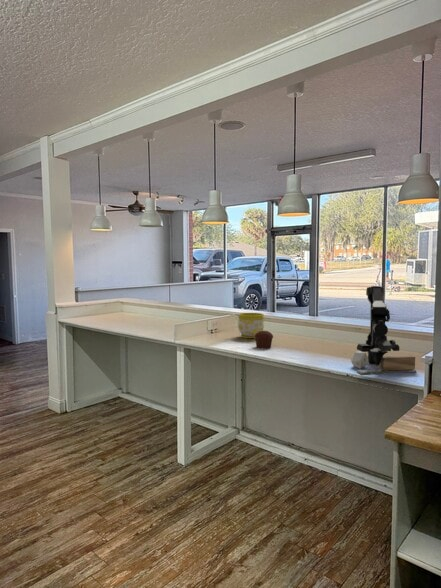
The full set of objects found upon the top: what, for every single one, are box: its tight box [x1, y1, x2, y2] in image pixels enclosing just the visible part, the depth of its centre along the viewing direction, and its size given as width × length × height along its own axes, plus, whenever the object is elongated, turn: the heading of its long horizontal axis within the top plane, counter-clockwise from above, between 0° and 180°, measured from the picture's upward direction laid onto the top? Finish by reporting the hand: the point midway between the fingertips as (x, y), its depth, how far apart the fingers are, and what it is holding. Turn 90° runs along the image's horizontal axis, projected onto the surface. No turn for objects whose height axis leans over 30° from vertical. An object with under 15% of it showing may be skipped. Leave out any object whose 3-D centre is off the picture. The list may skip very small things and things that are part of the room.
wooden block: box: [379, 355, 416, 371], centre depth 196 cm, size 3×16×6 cm, turn 99°
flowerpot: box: [237, 312, 265, 339], centre depth 288 cm, size 18×18×16 cm
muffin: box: [254, 330, 274, 349], centre depth 254 cm, size 12×11×10 cm
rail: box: [356, 368, 417, 376], centre depth 195 cm, size 4×28×1 cm, turn 99°
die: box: [350, 350, 370, 370], centre depth 204 cm, size 8×9×10 cm
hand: (377, 365), depth 194 cm, fingers closed
